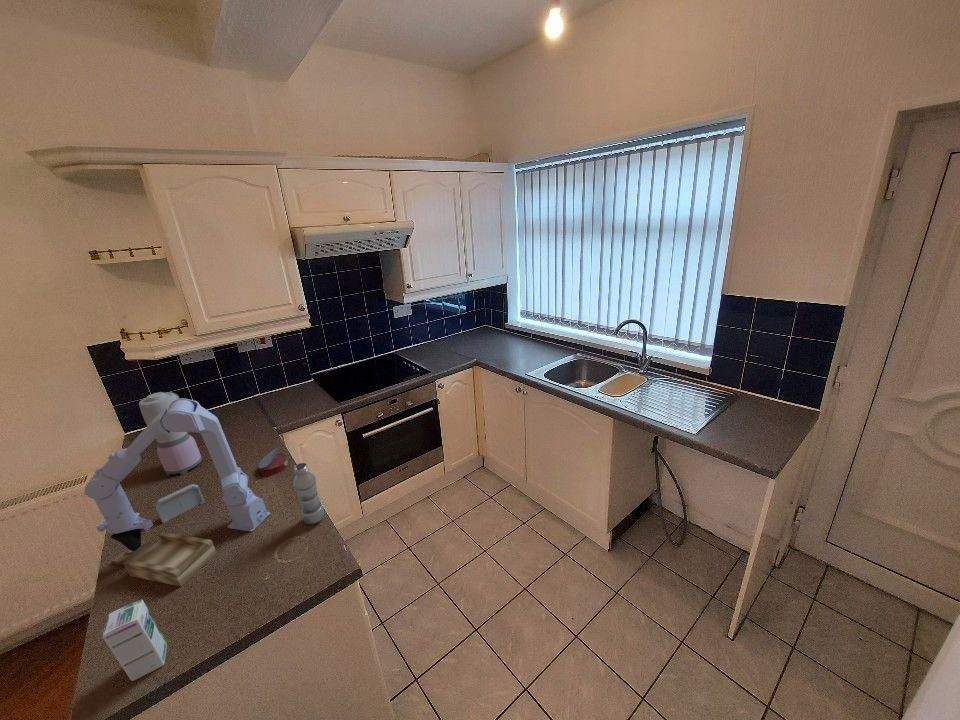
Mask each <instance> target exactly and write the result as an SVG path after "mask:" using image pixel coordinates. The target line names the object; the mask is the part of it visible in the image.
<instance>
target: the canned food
mask: <svg viewBox="0 0 960 720" xmlns="http://www.w3.org/2000/svg"><path fill="white" fill-rule="evenodd" d="M280 449H281V446H277V447H275V448H274V449H272V450H271V451H269V452H267V453H268V454H267V455H265V456H264V457H263V458H262V460H260V462H259V463H258V469H259V472H260V474H261V475H262V476H265V477H266V476H268V477H269V476H273V475H276V474H277V475H278V474H279V473H281V472H283V471H284V470H286V469H287V468H286V467H288V466H289V462H288V461H289V460H288V458H287V455H285V454H284V453H279V451H280Z"/></svg>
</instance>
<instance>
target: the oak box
mask: <svg viewBox="0 0 960 720" xmlns="http://www.w3.org/2000/svg"><path fill="white" fill-rule="evenodd" d="M158 536H159V538H160V540H159V541H158V542H157V543H156V544H155V545H154V546H153V547H152V548H150V549H149V550H148V551H147V552H145V553H144V554H143V555H142V556H140V557H139V558H138V559H137V560H135V561H134V560H129V559H128V560H127V561H125V562H124V565H123V566H125V567H124V568H125V569H126V570H127V573H128V575H129V577H132V578H134V577H135V578H139V579H143V580H148V581H152V582H156V583H157V582H158V583H162V584H167V585H171V586H177V587H183V586H184V585H185V583H187V582H188V581H189V580H190V579H191V578H192V577H193V576H194V575H195V574H196V573H197V572H198V571H199V570H201V568H203V566H205V565H206V564H207V563H208V562H209V561H210V560H211V559H212V558H213V557H214V556H215V555H216V554H217V553H218V552H217V550H216V547H215V546H214V545H215V544H214V543H213V540H212V539H208V538H201V537H196V536H189V535H184V534H178V533H171V532H166V531H163V532H161V533H160V534H159V535H158Z"/></svg>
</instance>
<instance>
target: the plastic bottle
mask: <svg viewBox="0 0 960 720" xmlns="http://www.w3.org/2000/svg"><path fill="white" fill-rule="evenodd" d="M293 471H294V472H293V473H294V475H295V476H294V478H293V481H292V486H293V489H294V491H295V493H296V495H297V498H298V500H299V503H300V508H301V519H302V520H303V522H304V523H305V524H307V525H315V524H317V523H320V521H322V520H323V518H324V516H325V508H324V506H323V504H322V502H321V499H320V497H319V493H318V489H317V479H316V476H315V474H314V473H312V472H311V471H309V467H308V465H307V463H305V462H299V463H297V464H296V465H294V466H293Z"/></svg>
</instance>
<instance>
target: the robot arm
mask: <svg viewBox="0 0 960 720" xmlns="http://www.w3.org/2000/svg"><path fill="white" fill-rule="evenodd" d="M170 431H172V432H187V433H197V434H200V435H201V437H202V440H203V442H204V444H205V446H206V448H207V451H208V454H209V456H210V458H211V461H212V463H213V465H214V467H215V469H216V473H217V474H218V476H219V479H220V486H221V490H222V491H223V494H222V502H223V503H224V504H225V505H226V507H227V509H228V512H229V515H230V518H231V523H229V524H228V525H227V528H228V529H233V530H239V531H243V532H244V531H245V532H253V531H254V530H255V529H256V528H257V527H259V526H260V524H261V523H262V522H263V521H265V519H266V518H268V516H270V515H271V512H270V511H268V510H267V507H266V504H265V501H264V499H263V498H261V497H258V496H256V495H255V494H254V492H253V491H252V489H250V487H248V486H249V476H248V474H246V473H244V472H243V471H242V468H241V467H238V465H237V462H236V460H235V458H234V455H233V453H232V450H231V447H230V444H229V443H228V440H227V438H226V435H225V432H224V431H223V428H222V425H221V423H220V420H219V419H218V416H216V415H214V414H213V413H212V412H210V411H209V410H207V409H206V408H204V407H203V406H201V404H200V403H199V401H196V400H193V399H188V398H183V397H181V398H180V399H177V400H175V401H173V402H172V403H171V404H170V406H169V409H168V411H167V407H166V408H165V409H164V410H163V411H162V412H160V413H159V414H158V415H157V416H156V417H155V418H154V419H153V420H152V421H151V422H150V423H149V425H148V426H147V425H146V427H145V428H144V429H143V430H142V431H141V432H140V434H139V435H138V436H136V438H135V439H134V440H133V441H132V443H131V444H130V445H129V446H128V447H126V448H120V449H118V450H117V451H116V452H113V451H112V453H110V454H109V456H108V457H107V462H105V464H103V466H102V467H98V468H97V469H95V472H94V474H93V475H92V477H91V478H90V480H89V481H88V482H87V484H86V485H85V487H84V494H85V495H86V496H87V497H88V498H90V499H93V500H94V501H95V503H96V505H97V507H98V509H99V511H100V513H101V515H102V517H103V519H104V520H102V521H101V522H100V523H99V524H98V525H96V526H95V528H96V529H97V531H98V533H99V532H104V531H106V532H108V533H110V534H112V535H111V536H110V539H111V540H114V541H117V542H118V543H121V544H122V545H123V546H124V547H126V549H129V550H130V551H136V550H137V549H138V548H139V547H140V546H141V541H142V539H141V538H142V537H141V536H142V530H144V531H149V530H150V529H151V528H152V527H153V526H154V523H153V521H152V519H146V518H142V516H140V513H139V512H135V511H134V509H133V507H132V505H131V502H130V501H129V499H128V496H127V494H126V492H125V491H124V489H123V487H122V484H121V482H122V481H123V480H124V479H126V477H128V475H129V474H130V472H132V471H133V470H134V468H136V467H137V466H138V464H139V463H141V460H142V457H141V453H142V452H144V451H145V450H146V449H147V448H148V447H149V446H150V445H151V443H153V441H155V440H156V438H157V437H158V436H159V435H162V434H169V433H170Z"/></svg>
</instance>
